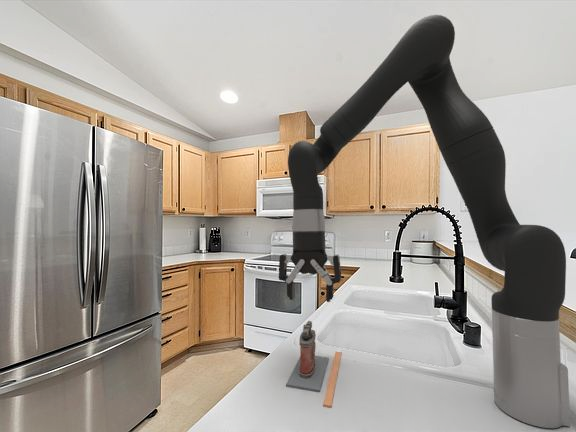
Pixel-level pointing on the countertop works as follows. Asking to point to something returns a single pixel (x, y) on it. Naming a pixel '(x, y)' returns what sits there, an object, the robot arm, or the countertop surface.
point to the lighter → (307, 352)
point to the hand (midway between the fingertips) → (309, 300)
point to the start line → (332, 381)
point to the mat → (315, 380)
